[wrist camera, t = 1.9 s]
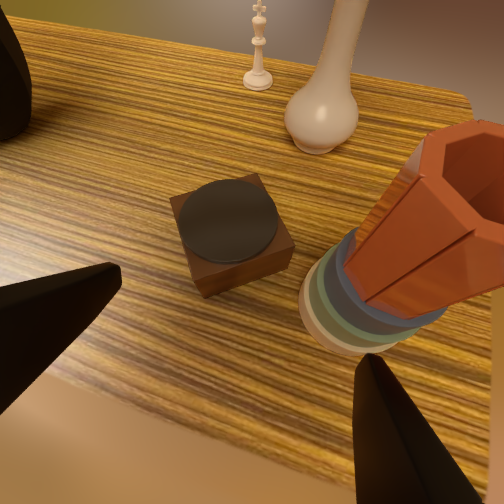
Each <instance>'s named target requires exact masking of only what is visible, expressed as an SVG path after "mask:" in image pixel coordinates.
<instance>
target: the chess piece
mask: <svg viewBox="0 0 504 504" xmlns="http://www.w3.org/2000/svg"><path fill="white" fill-rule="evenodd" d="M253 10H255V11H257V16H255V17H254V18H252V24H253V27H254V32H255V37H253V38H252V41H251V42H252V44H254V45H255V55H254V64H253V69H252V70H251V71H248V72H247V73H246V74H245V75H244V77H243V79H244V80H243V84H244V86H245V87H247V88H248V89H251V90H255V91H261V90H265V89H268V88H269V87H271V85H272V83H273V81H272V75H271V74H270V73H269V72H267V71H265V70H264V69H263V59H262V45H264V44H265V43H266V39H265V38H264V37H262V35H263V32H264V28H265V25H266V18H265V17H263V16H261V12H265V11H266V6H262V0H258V4H257V5H253Z"/></svg>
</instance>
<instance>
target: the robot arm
mask: <svg viewBox="0 0 504 504" xmlns="http://www.w3.org/2000/svg"><path fill="white" fill-rule="evenodd" d="M121 285H122V277H121V269H120V266H119V265H117V264H114V263H111V262H106V263H101V264H97V265H93V266H88V267H84V268H80V269H75V270H71V271H67V272H62V273H58V274H54V275H49V276H45V277H41V278H36V279H32V280H28V281H23V282H19V283H15V284H10V285H6V286H2V287H0V415H1V414H2V413H3V412H4V411H5V410H6V409H7V408H8V407H9V406H10V405H11V404H12V403H13V402H14V401H15V400H16V399H17V398H18V397H19V396H20V395H21V394H22V393H23V392H24V391H25V390H26V389H27V388H28V387H29V386H30V385H31V384H32V382H34V381H35V379H37V377H39V375H41V374H42V373H43V372H44V371H45V370H46V369H47V368H48V367H49V366H50V365H51V364H52V362H53V361H54V360H55V359H56V358H57V357H58V356H59V355H60V354H61V353H62V352H63V351H64V350H65V349H66V348H67V347H68V346H69V345H70V344H71V343H72V342H73V341H74V340H75V339H76V338H77V337H78V336H79V335H80V334H81V333H82V332H83V331H84V330H85V329H86V328H87V327H88V326H89V325H90V324H91V323H92V322H93V321H94V320H95V318H96V317H97V316H98V315H99V314H100V312H101V311H102V310H103V309H104V308H105V306H106V305H107V304H108V303H109V302H110V300H111V299H112V298H113V297H114V295H115V294H116V293H117V292H118V291H119V289H120V288H121ZM352 430H353V448H354V466H355V483H356V500H357V504H484V503H482V499H481V497H480V496H479V494H478V493H477V492H476V490H475V489H474V487H473V486H472V485H471V483H470V482H469V480H468V479H467V477H466V476H465V475H464V473H463V472H462V470H461V469H460V467H459V466H458V465H457V463H456V462H455V460H454V459H453V458H452V456H451V455H450V453H449V452H448V450H447V449H446V448H445V446H444V445H443V443H442V442H441V441H440V439H439V438H438V436H437V435H436V433H435V432H434V431H433V429H432V428H431V426H430V425H429V424H428V422H427V421H426V419H425V418H424V416H423V415H422V414H421V412H420V411H419V409H418V408H417V406H416V405H415V404H414V402H413V401H412V399H411V398H410V397H409V395H408V394H407V392H406V391H405V389H404V388H403V387H402V385H401V384H400V382H399V381H398V380H397V378H396V377H395V375H394V374H393V372H392V371H391V370H390V368H389V367H388V365H387V364H386V363H385V361H384V360H383V358H382V357H380V356H378V355H375V354H372V353H366V354H365V355H364V357H363V358H362V360H361V361H360V363H359V364H358V366H357V368H356V370H355V377H354V397H353V417H352Z"/></svg>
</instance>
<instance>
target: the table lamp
mask: <svg viewBox="0 0 504 504" xmlns="http://www.w3.org/2000/svg"><path fill="white" fill-rule="evenodd" d="M31 107H32V84H31V77H30V72H29V69H28V65H27V62H26V59H25V56H24V53H23V51H22V49H21V46H20V44H19V41H18V39H17V37H16V35H15V33H14V31H13V29H12V27H11V26H10V24H9V22H8V20H7V18H6V16H5V15H4V13H3V11H2V9H1V5H0V140H2V139H6V138H10V137H14V136H15V135H16V134H18V133H19V132H20V131H21V130H23V129H24V128H25V127H27V126H28V124H29V121H30V117H31Z"/></svg>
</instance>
